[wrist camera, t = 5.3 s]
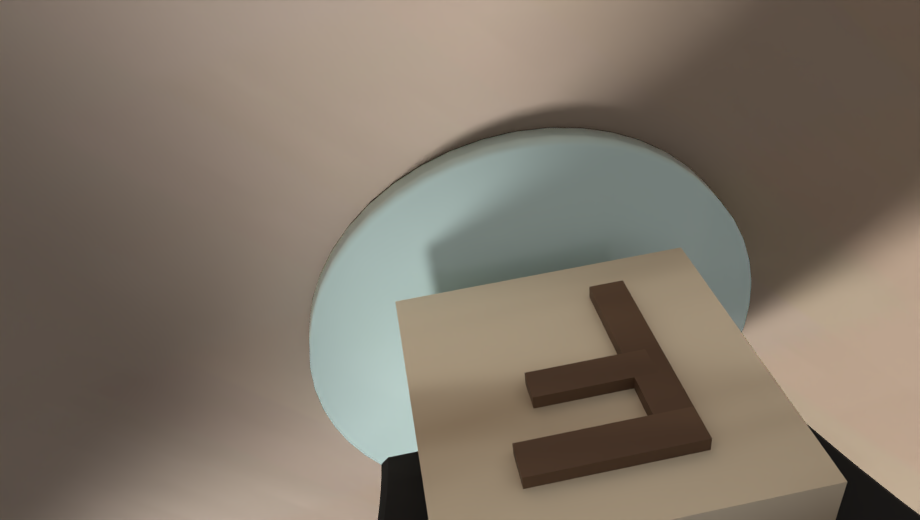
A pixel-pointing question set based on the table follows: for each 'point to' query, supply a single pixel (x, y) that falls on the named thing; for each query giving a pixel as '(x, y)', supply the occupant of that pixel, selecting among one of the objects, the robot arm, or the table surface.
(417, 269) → the coaster
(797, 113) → the table surface
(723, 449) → the letter cube
